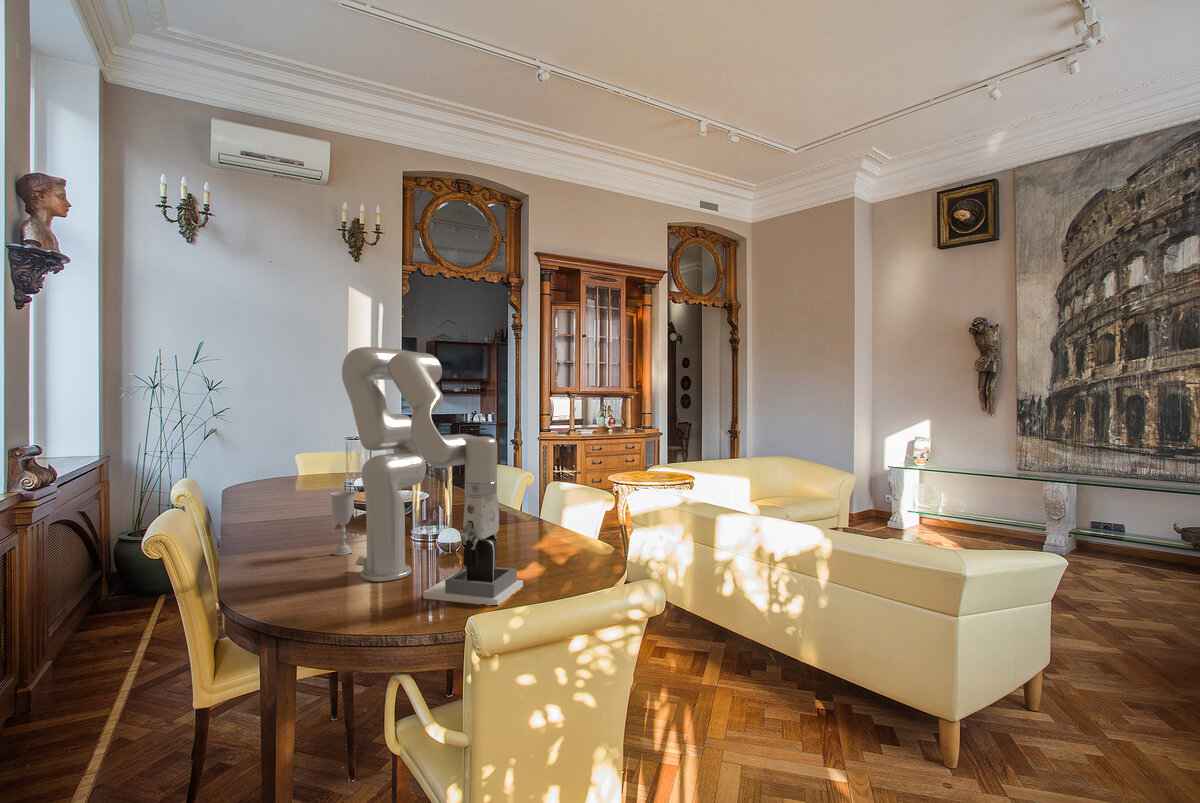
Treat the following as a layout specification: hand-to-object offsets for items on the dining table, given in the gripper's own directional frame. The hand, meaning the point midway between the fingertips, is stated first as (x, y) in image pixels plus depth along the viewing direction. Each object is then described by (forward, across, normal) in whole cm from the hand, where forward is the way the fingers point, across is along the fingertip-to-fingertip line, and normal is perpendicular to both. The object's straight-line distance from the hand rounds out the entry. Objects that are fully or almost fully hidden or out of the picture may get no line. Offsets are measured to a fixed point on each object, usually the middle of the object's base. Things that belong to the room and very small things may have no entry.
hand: (480, 560), depth 143 cm
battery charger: (+7, 0, 0) cm, 7 cm away
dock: (+8, 0, +1) cm, 8 cm away
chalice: (+9, +20, +55) cm, 59 cm away
